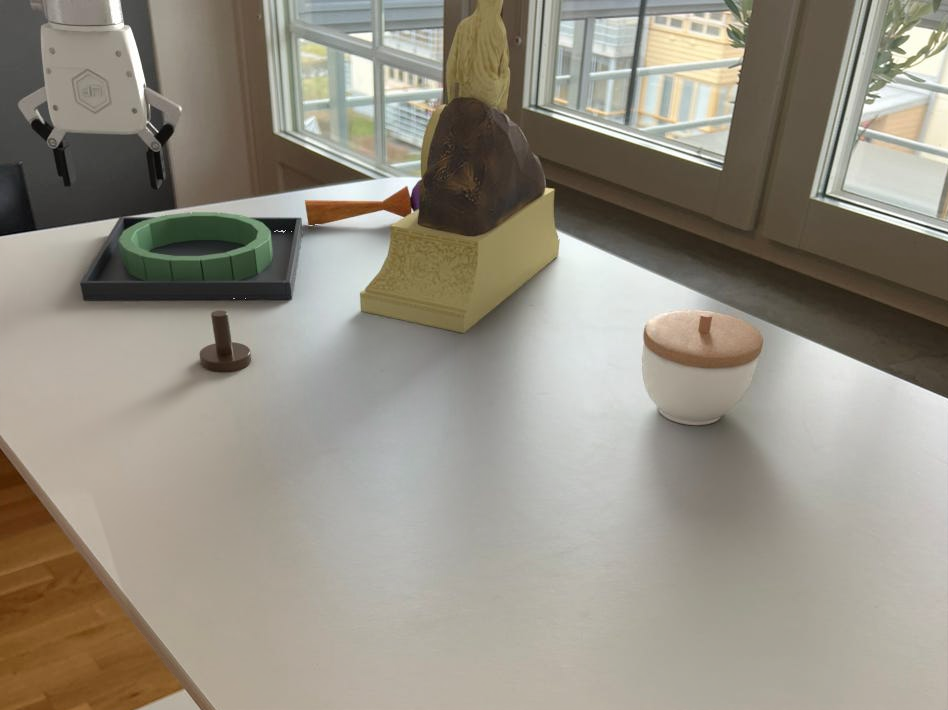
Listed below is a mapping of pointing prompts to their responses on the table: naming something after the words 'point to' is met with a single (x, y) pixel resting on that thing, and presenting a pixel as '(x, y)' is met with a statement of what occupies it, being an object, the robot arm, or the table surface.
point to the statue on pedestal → (469, 197)
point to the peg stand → (224, 348)
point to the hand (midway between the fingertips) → (114, 184)
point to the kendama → (361, 207)
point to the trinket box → (698, 364)
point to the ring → (196, 227)
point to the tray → (272, 283)
